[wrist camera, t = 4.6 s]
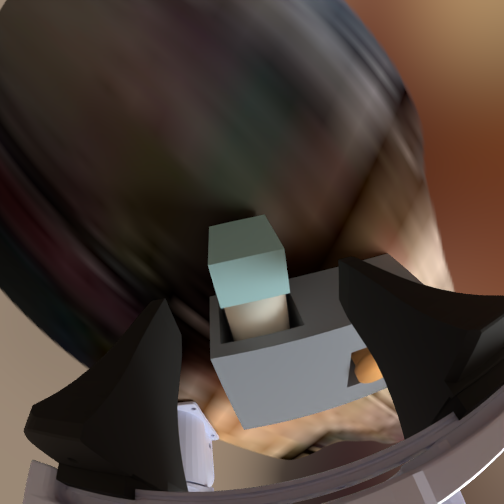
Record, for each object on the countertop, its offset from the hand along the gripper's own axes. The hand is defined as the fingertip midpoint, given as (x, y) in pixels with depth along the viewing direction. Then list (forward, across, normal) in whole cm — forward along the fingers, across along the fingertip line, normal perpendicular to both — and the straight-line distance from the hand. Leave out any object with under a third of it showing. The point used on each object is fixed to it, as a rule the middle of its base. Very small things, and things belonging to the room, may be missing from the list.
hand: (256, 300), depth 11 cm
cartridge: (+7, 0, +5) cm, 8 cm away
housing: (+7, -4, +9) cm, 12 cm away
